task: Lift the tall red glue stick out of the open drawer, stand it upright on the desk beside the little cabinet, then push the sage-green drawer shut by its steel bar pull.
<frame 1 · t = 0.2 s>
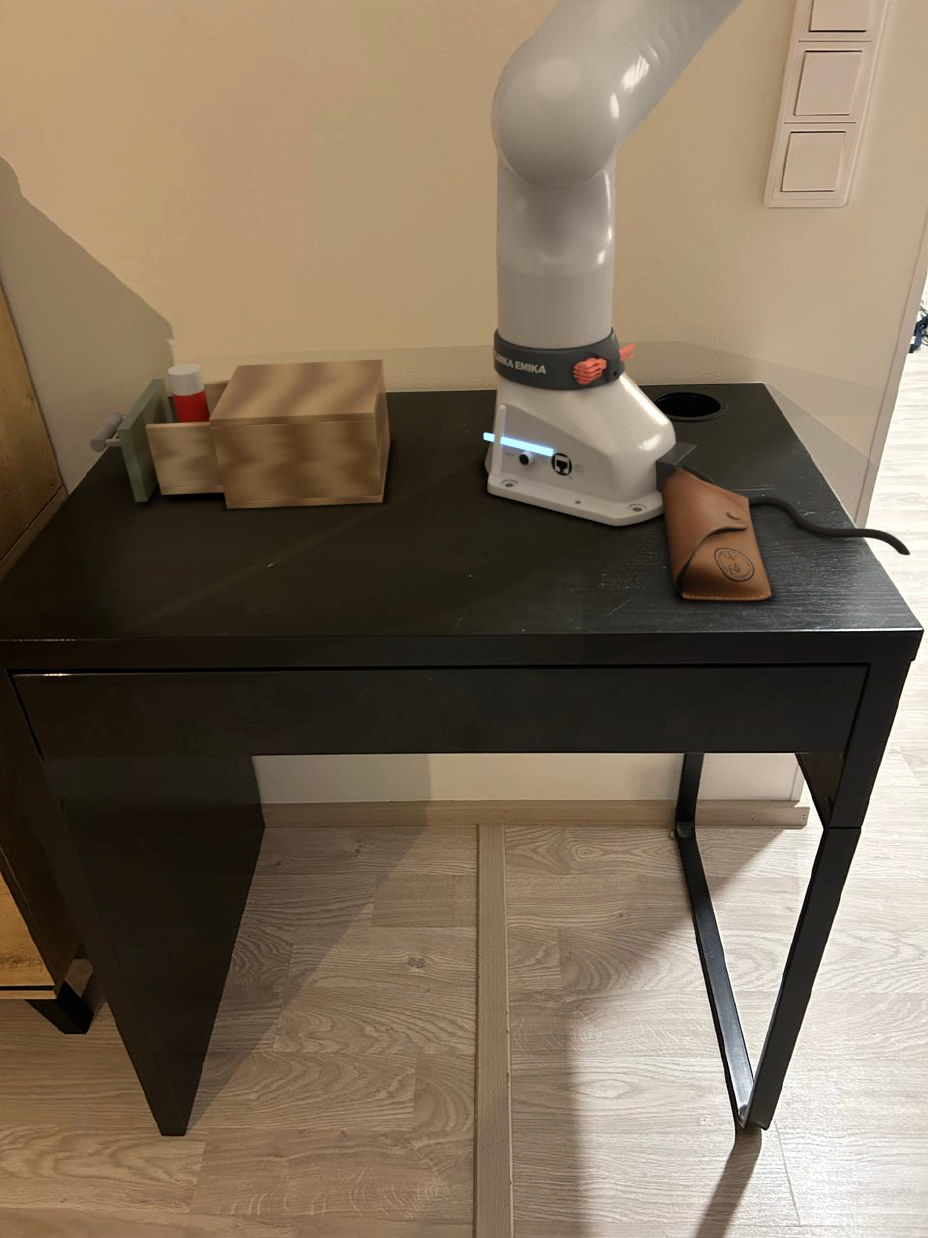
drawer: (192, 436, 99), point 5 cm above the table, slide at 8.0 cm, touching glue stick
cabinet: (313, 473, 102), on the table
sunglasses case: (711, 548, 86), on the table, touching arm
glue stick: (203, 460, 101), point 2 cm above the table, touching drawer
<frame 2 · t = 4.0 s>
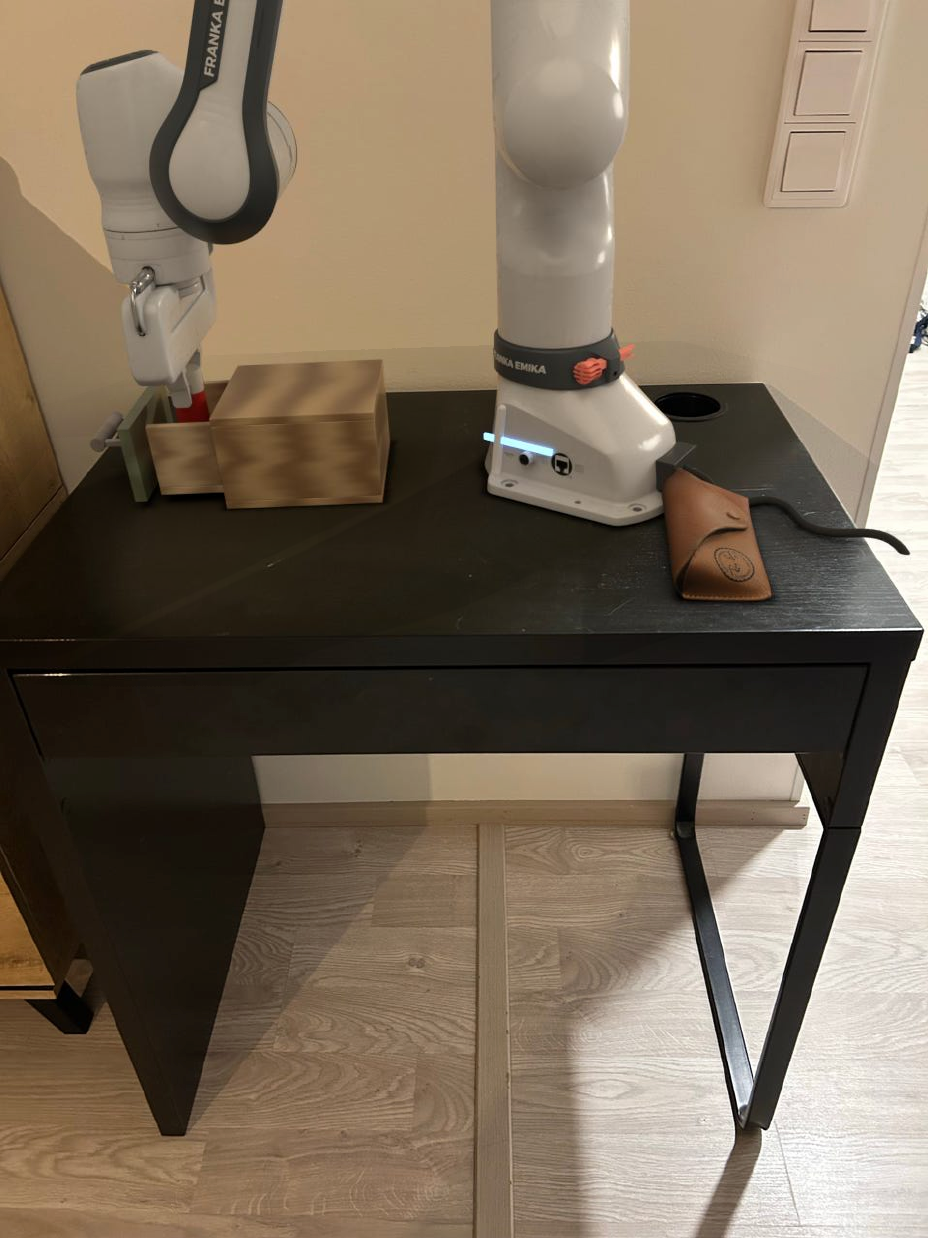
hand: (189, 396, 97), 9 cm above the table, tool pointing down, fingers closed on glue stick, 3 cm apart
glue stick: (203, 460, 101), point 2 cm above the table, touching drawer, gripper
everything else where it was.
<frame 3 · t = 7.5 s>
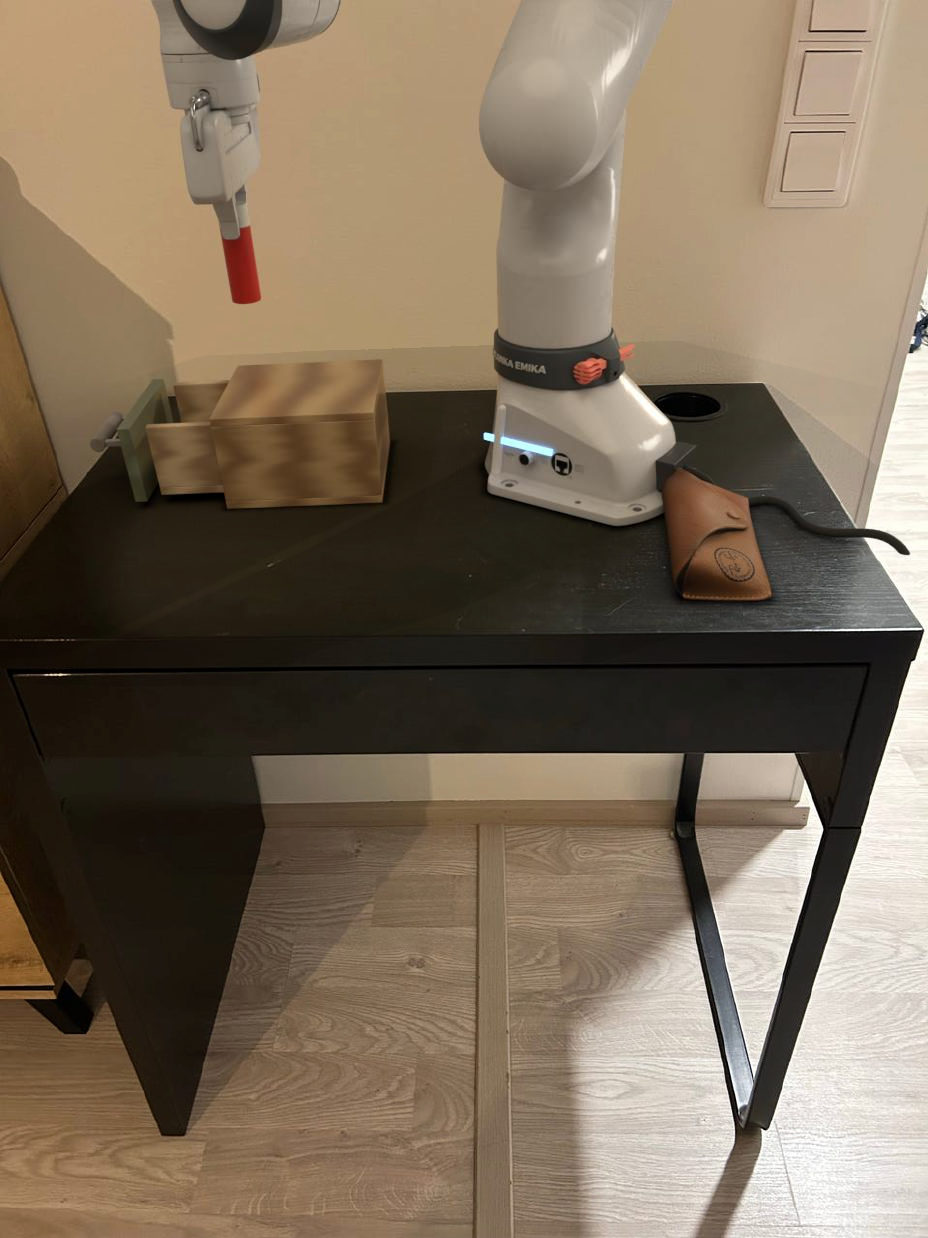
hand: (236, 232, 102), 21 cm above the table, tool pointing down, fingers closed on glue stick, 3 cm apart
drawer: (192, 436, 99), point 5 cm above the table, slide at 8.0 cm
glue stick: (246, 299, 106), point 14 cm above the table, touching gripper
everything else where it was.
when the fingers open (7 cm above the table, at t = 10.9 s): glue stick stays where it is, on the table.
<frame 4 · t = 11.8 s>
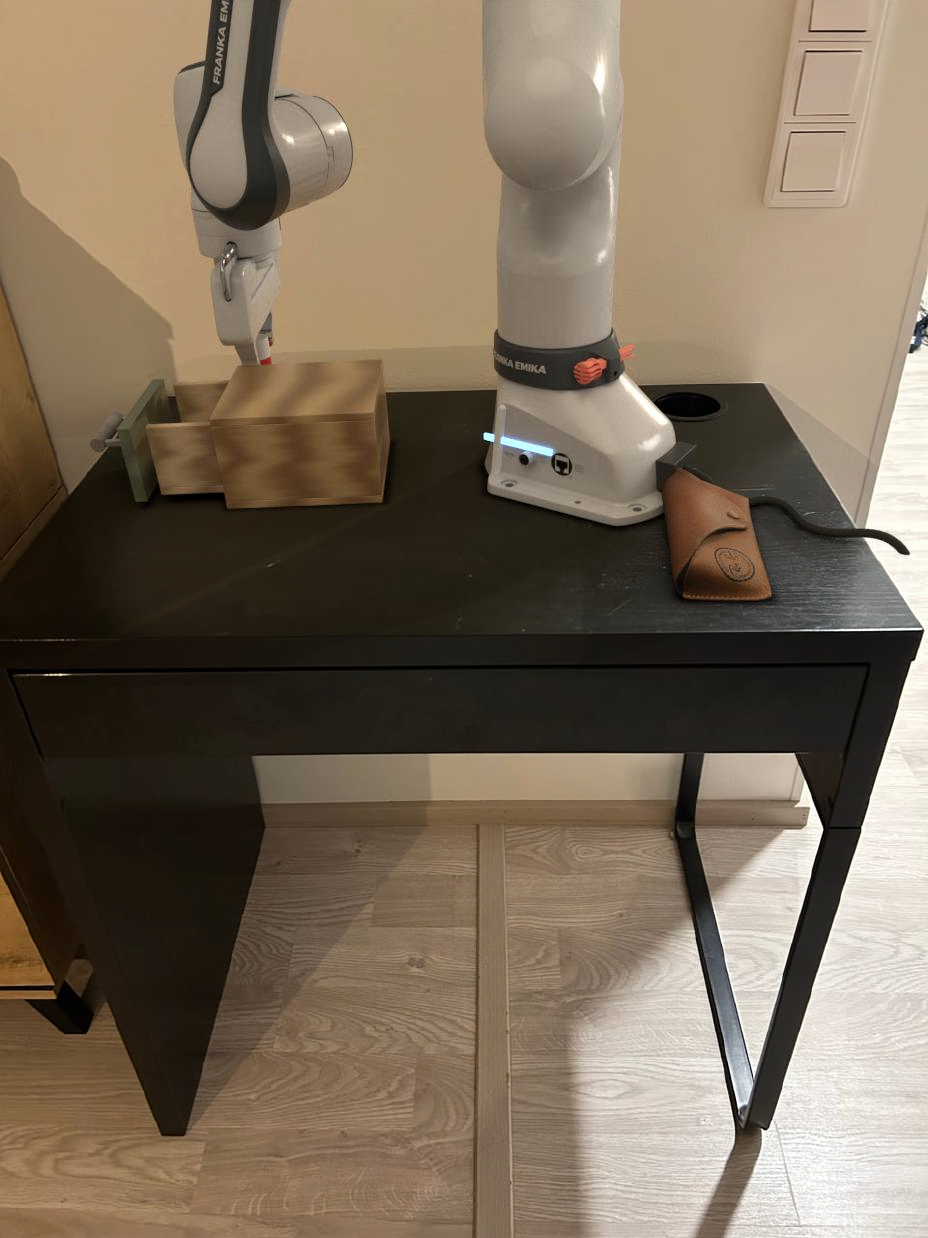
hand: (260, 358, 110), 8 cm above the table, tool pointing down, fingers open, 8 cm apart
glue stick: (267, 420, 114), on the table
everything else where it was.
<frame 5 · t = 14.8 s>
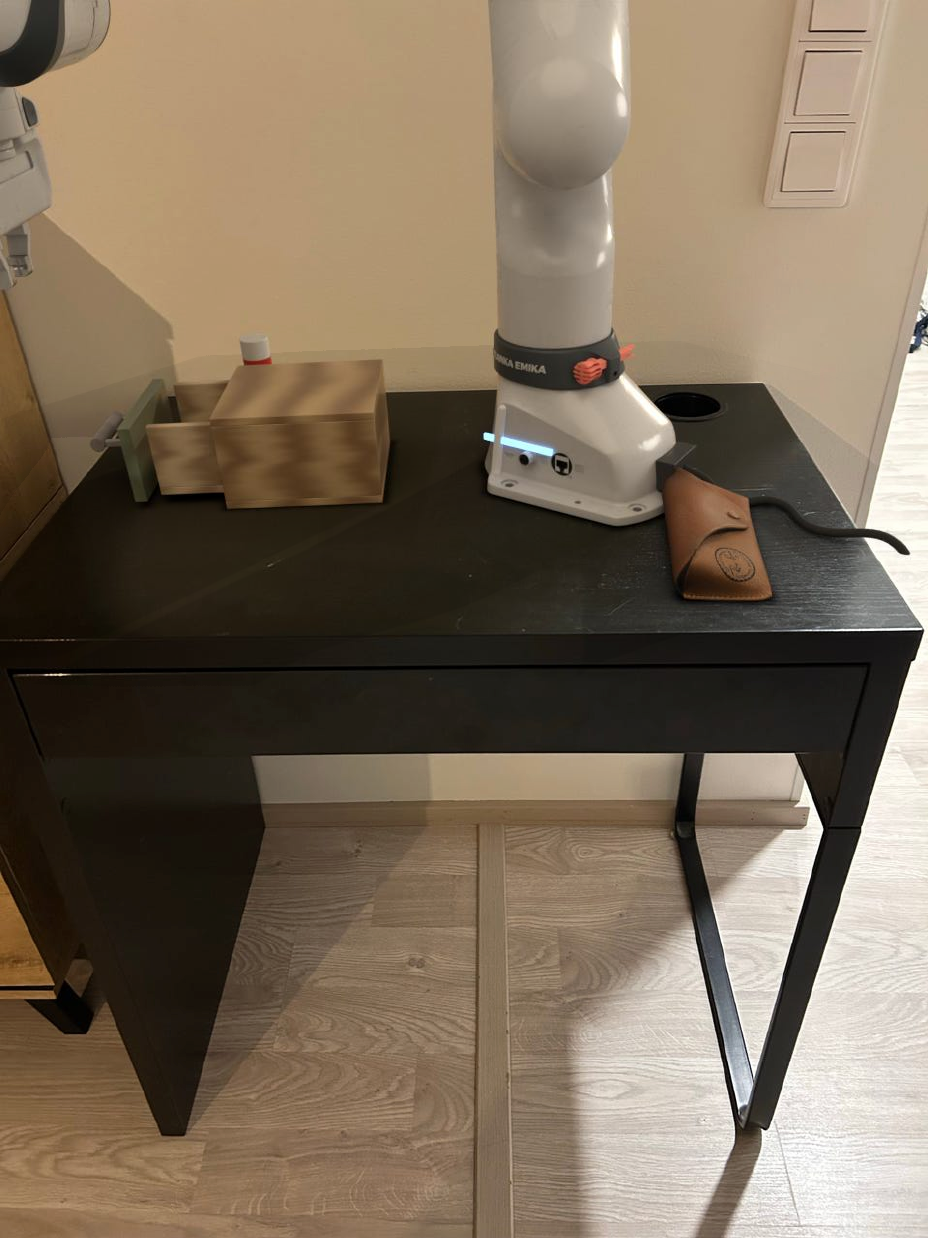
hand: (15, 281, 90), 21 cm above the table, tool pointing down, fingers open, 3 cm apart
nothing on the table moved.
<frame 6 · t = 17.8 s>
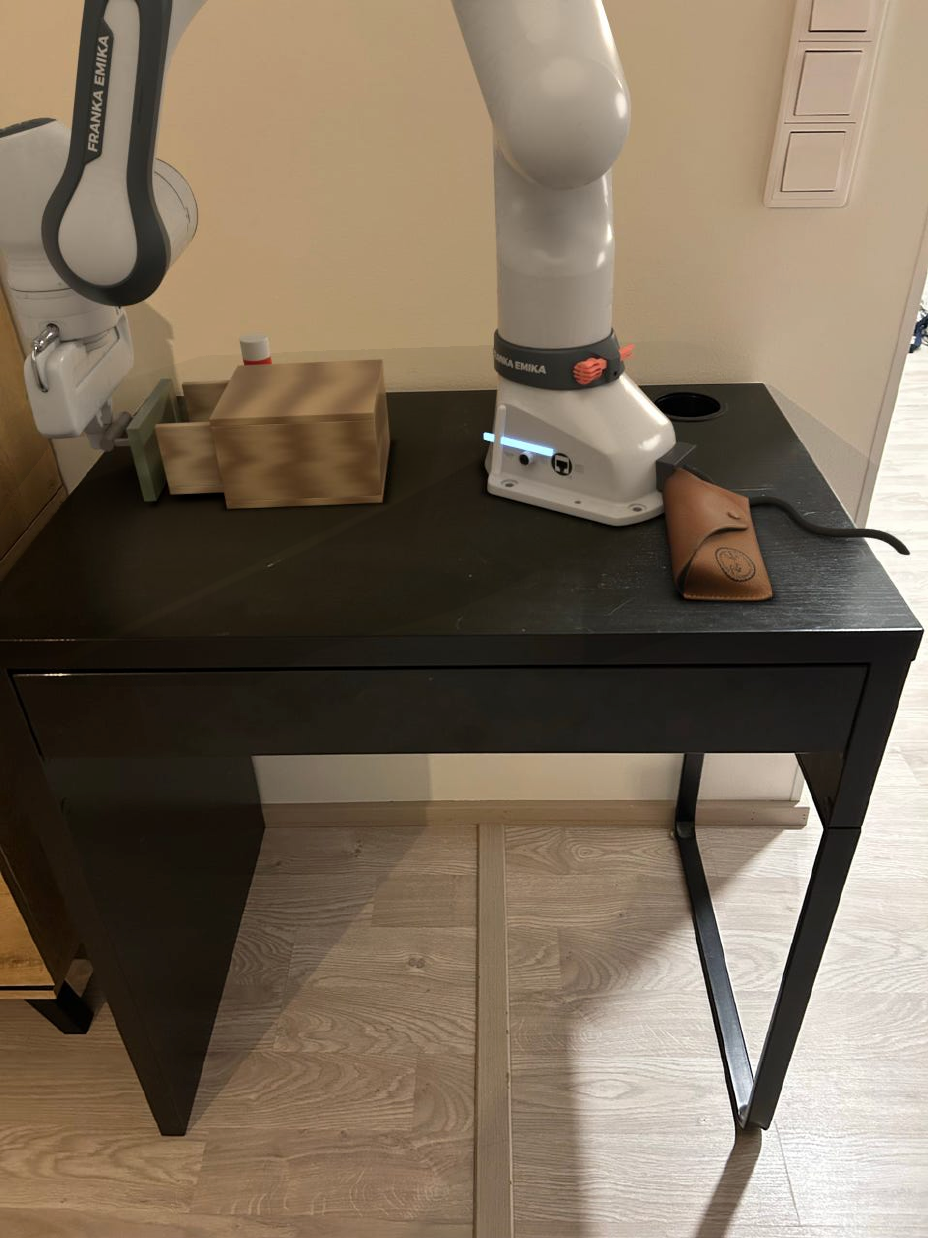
hand: (104, 443, 99), 4 cm above the table, tool pointing down, fingers closed, pressing on drawer
drawer: (201, 436, 99), point 5 cm above the table, slide at 7.1 cm, touching gripper
everything else where it was.
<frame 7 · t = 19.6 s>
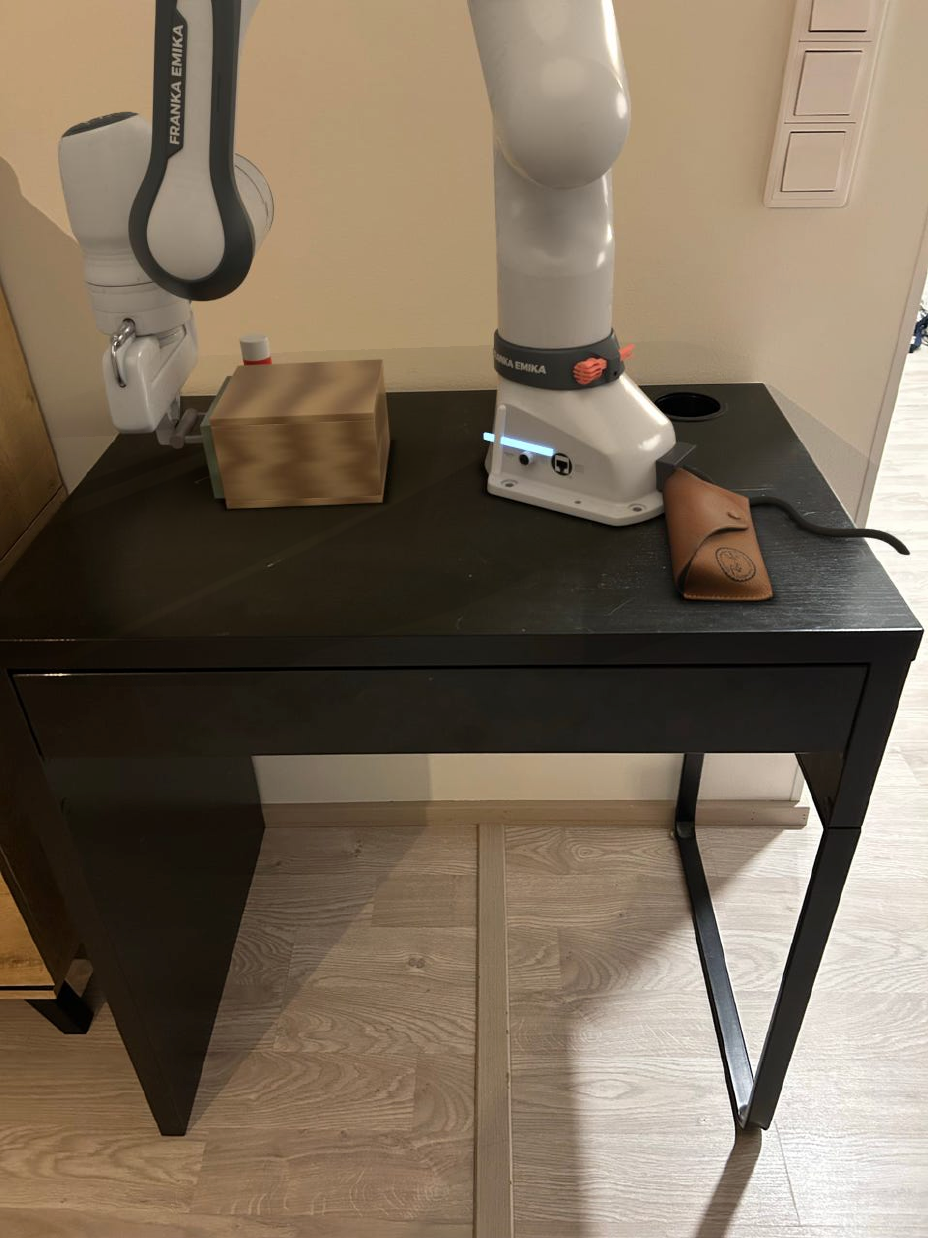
hand: (171, 439, 99), 5 cm above the table, tool pointing down, fingers closed
drawer: (269, 433, 99), point 5 cm above the table, slide at 0.0 cm, touching cabinet, gripper
everything else where it was.
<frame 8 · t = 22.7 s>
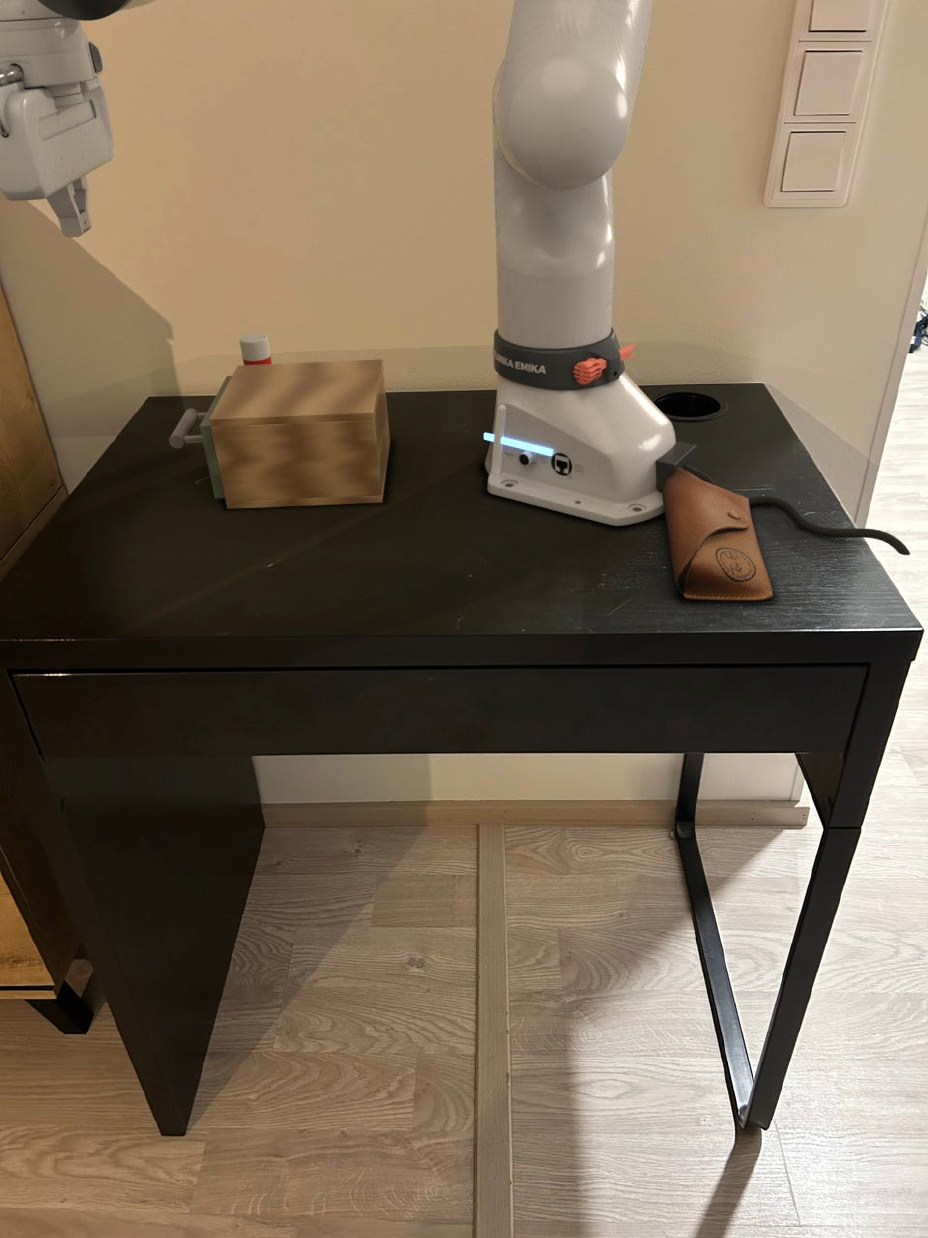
hand: (78, 233, 88), 25 cm above the table, tool pointing down, fingers closed
drawer: (269, 433, 99), point 5 cm above the table, slide at 0.0 cm, touching cabinet
everything else where it was.
at the end: glue stick 0.3 cm from the target spot, on the table; glue stick tilted 0°; drawer slide at 0.0 cm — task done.
